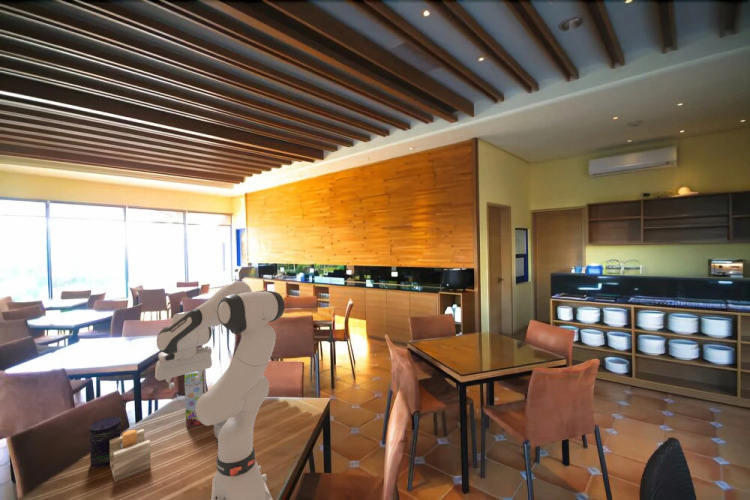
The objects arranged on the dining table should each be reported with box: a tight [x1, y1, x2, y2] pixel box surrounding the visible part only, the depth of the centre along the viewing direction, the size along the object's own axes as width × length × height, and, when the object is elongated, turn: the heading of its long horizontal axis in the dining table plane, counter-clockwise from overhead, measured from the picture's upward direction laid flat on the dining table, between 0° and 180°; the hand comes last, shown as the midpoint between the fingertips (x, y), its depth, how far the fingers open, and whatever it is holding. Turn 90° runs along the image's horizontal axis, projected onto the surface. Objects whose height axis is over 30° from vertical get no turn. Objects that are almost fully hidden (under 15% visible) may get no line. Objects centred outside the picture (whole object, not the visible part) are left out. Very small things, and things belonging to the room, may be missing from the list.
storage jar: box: [89, 416, 122, 469], centre depth 131 cm, size 10×10×15 cm
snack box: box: [183, 369, 207, 428], centre depth 165 cm, size 22×9×26 cm, turn 25°
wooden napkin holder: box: [109, 428, 152, 483], centre depth 127 cm, size 13×11×10 cm
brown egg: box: [121, 429, 138, 448], centre depth 127 cm, size 5×5×4 cm
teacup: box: [212, 419, 228, 440], centre depth 148 cm, size 14×11×8 cm
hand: (185, 384), depth 133 cm, fingers open, 8 cm apart
